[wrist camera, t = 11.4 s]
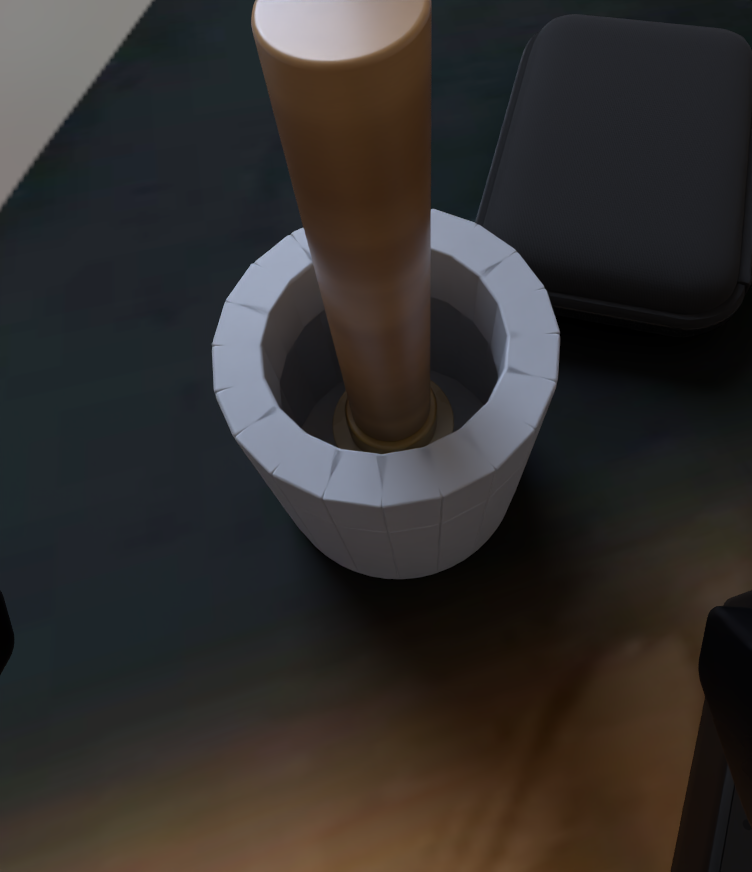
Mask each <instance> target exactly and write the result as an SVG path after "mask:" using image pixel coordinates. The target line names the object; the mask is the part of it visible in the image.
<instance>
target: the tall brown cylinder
mask: <svg viewBox="0 0 752 872" xmlns="http://www.w3.org/2000/svg"><path fill="white" fill-rule="evenodd" d="M251 26H252V31H253V35H254V39H255V43H256V47H257V50H258V54H259V58H260V62H261V66H262V70H263V73H264V77H265V81H266V85H267V89H268V93H269V97H270V100H271V104H272V108H273V112H274V116H275V120H276V123H277V127H278V131H279V135H280V139H281V143H282V146H283V150H284V154H285V158H286V162H287V166H288V170H289V173H290V177H291V181H292V185H293V189H294V193H295V196H296V200H297V204H298V208H299V212H300V216H301V220H302V223H303V227H304V231H305V235H306V239H307V243H308V246H309V250H310V254H311V258H312V262H313V266H314V269H315V273H316V277H317V281H318V285H319V289H320V293H321V296H322V300H323V304H324V308H325V312H326V316H327V319H328V323H329V327H330V331H331V335H332V339H333V342H334V346H335V350H336V354H337V358H338V362H339V366H340V369H341V373H342V377H343V381H344V385H345V389H346V391H345V392H344V393H343V395H342V396H341V397H340V399H339V401H338V403H337V405H336V408H335V410H334V414H333V421H332V431H333V437H334V441H335V443H336V446H337V447H338V448H340V449H345V450H353V451H361V452H369V453H377V454H387V453H392V452H398V451H404V450H410V449H416V448H422V447H425V446H427V445H429V444H431V443H433V442H435V441H437V440H439V439H441V438H443V437H445V436H447V435H449V434H451V433H453V432H454V415H453V410H452V407H451V404H450V402H449V400H448V398H447V396H446V395H445V393H444V392H443V391H442V389H441V388H440V387H439V386H438V385H437V384H436V383H435V382H433V381H432V380H430V291H431V0H255V3H254V6H253V11H252V18H251Z"/></svg>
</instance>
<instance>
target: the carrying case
mask: <svg viewBox="0 0 752 872" xmlns="http://www.w3.org/2000/svg"><path fill="white" fill-rule="evenodd" d="M475 223H476V224H477V225H480V226H482V227H483V228H485V229H486V230H488V231H489V232H490V233H492V234H493V235H495V236H496V237H498V238H499V239H501V240H502V241H504V242H505V243H506V244H508V245H509V246H511V247H512V248H514V249H515V250H516V251H517V253H519V254H520V256H521V257H522V258H523V260H524V261H525V262H526V263H527V265H528V266H529V267H530V269H531V270H532V271H533V273H534V274H535V275H536V276H537V278H538V279H539V280H540V282H541V283H542V284H543V285H544V288H545V289H546V290H547V293H548V296H549V299H550V302H551V305H552V309H553V312H554V315H558V316H564V317H569V318H575V319H580V320H586V321H591V322H597V323H602V324H608V325H613V326H618V327H624V328H629V329H634V330H640V331H645V332H651V333H656V334H661V335H667V336H673V337H690V336H696V335H700V334H703V333H706V332H710V331H712V330H714V329H716V328H718V327H720V326H722V325H723V324H724V323H726V322H727V321H728V320H729V319H730V318H731V317H732V316H733V315H734V314H735V312H736V311H737V310H738V309H739V307H740V306H741V304H742V301H743V299H744V296H745V295H746V293H747V292H748V290H749V288H750V286H751V283H752V275H751V268H752V51H751V48H750V46H749V44H748V43H747V42H746V40H745V39H744V38H743V37H742V36H740V35H738V34H736V33H734V32H731V31H729V30H725V29H719V28H709V27H699V26H689V25H679V24H669V23H659V22H649V21H639V20H629V19H619V18H609V17H599V16H589V15H579V14H570V15H565V16H561V17H557V18H555V19H553V20H552V21H550V22H549V23H548V24H546V25H545V26H544V27H543V29H541V30H540V31H539V32H537V33H536V34H535V35H534V36H533V37H532V38H531V39H530V40H529V42H528V44H527V45H526V47H525V49H524V51H523V54H522V58H521V61H520V64H519V68H518V71H517V75H516V78H515V82H514V86H513V89H512V93H511V97H510V100H509V104H508V108H507V111H506V115H505V118H504V122H503V126H502V129H501V133H500V137H499V140H498V144H497V147H496V151H495V154H494V158H493V162H492V165H491V169H490V172H489V176H488V179H487V183H486V186H485V190H484V194H483V197H482V201H481V204H480V208H479V211H478V215H477V218H476V222H475Z"/></svg>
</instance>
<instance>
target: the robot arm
mask: <svg viewBox="0 0 752 872" xmlns="http://www.w3.org/2000/svg"><path fill="white" fill-rule="evenodd" d="M13 648H14V633H13V629H12V625H11V622H10V618H9V615H8V611H7V608H6V604H5V601H4V597H3V594H2V592H1V591H0V675H1V673H2V671H3V669H4V667H5V666H6V664H7V662H8V660H9V658H10V656H11V654H12V651H13ZM698 669H699V677H700V682H701V685H702V688H703V691H704V694H705V697H706V700H707V703H708V706H709V709H710V712H711V715H712V718H713V721H714V724H715V727H716V730H717V733H718V736H719V739H720V742H721V745H722V748H723V751H724V754H725V757H726V760H727V763H728V766H729V769H730V772H731V775H732V778H733V781H734V784H735V787H736V790H737V793H738V795H739V798H740V801H741V804H742V807H743V809H744V812H745V814H746V816H747V819H748V821H749V823H750V826H751V828H752V608H748V607H728V606H717V607H715V608H713V609H712V610H711V611H710V612H709V614H708V617H707V622H706V627H705V632H704V637H703V642H702V647H701V652H700V657H699V667H698Z"/></svg>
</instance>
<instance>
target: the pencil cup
mask: <svg viewBox="0 0 752 872" xmlns="http://www.w3.org/2000/svg"><path fill="white" fill-rule="evenodd" d="M559 334H560V330H559V327H558V324H557V321H556V318H555V315H554V312H553V309H552V305H551V302H550V299H549V296H548V293H547V290H546V289H545V288H544V285H543V284H542V283H541V282H540V280H539V279H538V278H537V276H536V275H535V274H534V273H533V271H532V270H531V269H530V267H529V266H528V265H527V263H526V262H525V261H524V260H523V258H522V257H521V256H520V254H519V253H517V251H516V250H515V249H514V248H512V247H511V246H509V245H508V244H506V243H505V242H504V241H502V240H501V239H499V238H498V237H496V236H495V235H493V234H492V233H490V232H489V231H488V230H486V229H485V228H483V227H482V226H480V225H477V224H476V223H474V222H471V221H468V220H465V219H462V218H459V217H456V216H453V215H450V214H447V213H444V212H441V211H438V210H435V209H432V210H431V291H430V380H432V381H433V382H435V383H436V384H437V385H438V386H439V387H440V388H441V389H442V391H443V392H444V393H445V395H446V396H447V398H448V400H449V402H450V404H451V407H452V410H453V415H454V432H453V433H451V434H449V435H447V436H445V437H443V438H441V439H439V440H437V441H435V442H433V443H431V444H429V445H427V446H425V447H422V448H416V449H410V450H404V451H398V452H392V453H387V454H377V453H369V452H361V451H353V450H345V449H340V448H338V447H337V446H336V443H335V441H334V437H333V431H332V421H333V414H334V410H335V408H336V405H337V403H338V401H339V399H340V397H341V396H342V395H343V393H344V392H345V391H346V389H345V385H344V381H343V377H342V373H341V369H340V366H339V362H338V358H337V354H336V350H335V346H334V342H333V339H332V335H331V331H330V327H329V323H328V319H327V316H326V312H325V308H324V304H323V300H322V296H321V293H320V289H319V285H318V281H317V277H316V273H315V269H314V266H313V262H312V258H311V254H310V250H309V246H308V243H307V239H306V235H305V231H304V228H301V229H299V230H297V231H295V232H293V233H291V235H288V236H287V237H285V238H284V239H283V240H282V241H280V242H279V243H278V244H277V245H275V246H274V247H273V248H272V249H270V250H269V251H268V252H267V253H265V254H264V255H263V256H262V257H260V258H259V259H258V260H257V261H255V263H254V264H251V265H250V267H249V268H248V270H247V271H246V272H245V274H244V275H243V277H242V278H241V280H240V281H239V282H238V284H237V285H236V287H235V288H234V289H233V291H232V292H231V294H230V295H229V297H228V298H227V299H226V302H225V304H224V307H223V310H222V314H221V317H220V320H219V323H218V327H217V330H216V333H215V336H214V340H213V343H212V346H213V347H212V361H213V380H214V392H215V393H216V399H217V401H218V403H219V406H220V408H221V410H222V412H223V415H224V417H225V419H226V421H227V424H228V426H229V428H230V430H231V433H232V435H233V437H234V438H235V439H236V441H237V443H238V444H239V446H240V447H241V448H242V450H243V451H244V453H245V454H246V455H247V457H248V458H249V459H250V461H251V462H252V464H253V465H254V466H255V468H256V469H257V471H258V472H259V474H260V475H261V476H262V478H263V479H264V481H265V482H266V483H267V485H268V486H269V488H270V489H271V490H272V492H273V493H274V495H275V496H276V497H277V499H278V500H279V501H280V503H281V504H282V506H283V507H284V508H285V510H286V511H287V513H288V514H289V515H290V517H291V518H292V520H293V521H294V522H295V524H296V525H297V527H298V528H299V529H300V530H301V531H302V532H303V533H304V534H305V535H306V537H307V538H308V539H309V540H310V541H311V542H312V543H313V544H314V546H315V547H316V548H318V549H319V550H320V551H321V552H322V553H324V554H325V555H326V556H327V557H329V558H330V559H332V560H333V561H335V562H337V563H338V564H340V565H342V566H344V567H346V568H348V569H350V570H353V571H355V572H358V573H361V574H365V575H368V576H372V577H378V578H384V579H410V578H419V577H423V576H428V575H432V574H435V573H438V572H441V571H443V570H446V569H448V568H451V567H452V566H454V565H456V564H458V563H460V562H462V561H464V560H465V559H466V558H468V557H469V556H470V555H472V554H473V553H474V552H476V551H477V550H478V549H479V548H480V547H481V546H482V545H483V544H484V543H485V542H486V541H487V540H488V539H489V538H490V537H491V535H492V534H493V533H494V532H495V530H496V529H497V528H498V526H499V525H500V523H501V522H502V520H503V517H504V516H505V514H506V511H507V509H508V506H509V504H510V502H511V500H512V498H513V495H514V493H515V491H516V488H517V486H518V483H519V481H520V478H521V476H522V473H523V470H524V468H525V465H526V463H527V460H528V458H529V455H530V453H531V450H532V448H533V445H534V442H535V440H536V437H537V435H538V432H539V430H540V427H541V425H542V422H543V419H544V417H545V414H546V412H547V409H548V407H549V404H550V401H551V399H552V396H553V394H554V391H555V389H556V384H557V381H558V370H559V353H560V335H559Z"/></svg>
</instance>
